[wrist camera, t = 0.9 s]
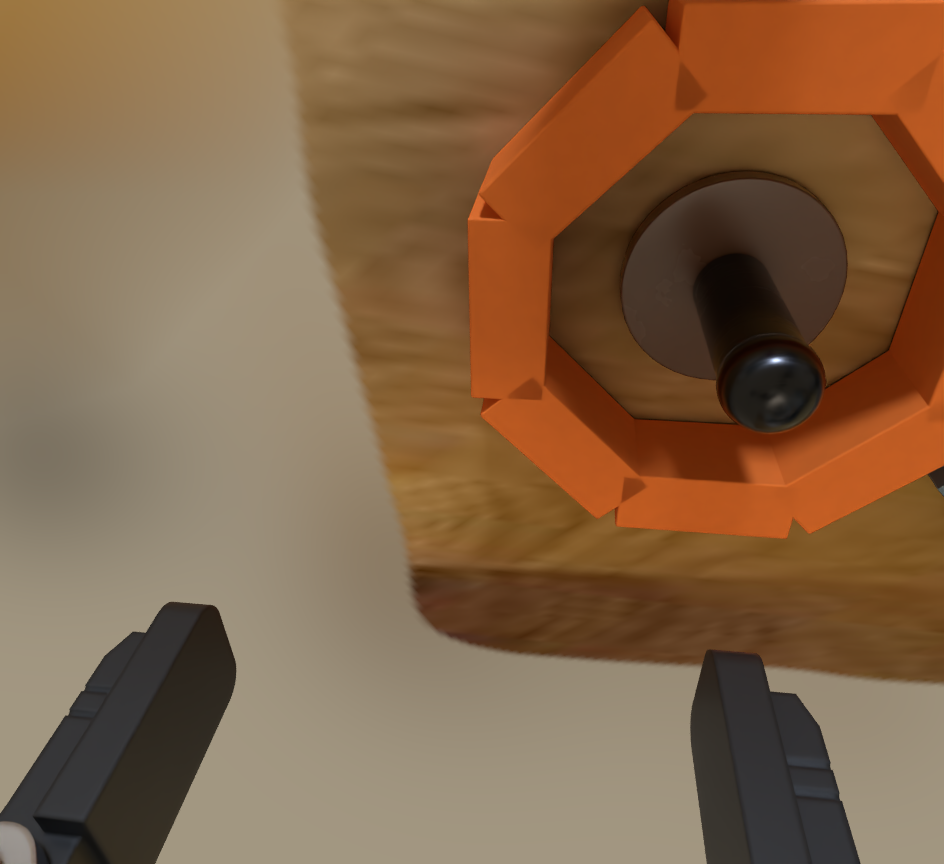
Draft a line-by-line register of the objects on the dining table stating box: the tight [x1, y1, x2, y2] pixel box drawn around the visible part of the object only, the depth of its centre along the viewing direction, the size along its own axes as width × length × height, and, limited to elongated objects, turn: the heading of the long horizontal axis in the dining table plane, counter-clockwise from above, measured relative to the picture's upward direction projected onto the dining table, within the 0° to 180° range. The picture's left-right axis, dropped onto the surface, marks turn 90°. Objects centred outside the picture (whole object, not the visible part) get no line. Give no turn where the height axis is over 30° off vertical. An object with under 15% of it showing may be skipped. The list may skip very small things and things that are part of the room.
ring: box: [468, 0, 944, 539], centre depth 22 cm, size 16×16×4 cm
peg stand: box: [620, 171, 848, 434], centre depth 21 cm, size 7×7×8 cm
